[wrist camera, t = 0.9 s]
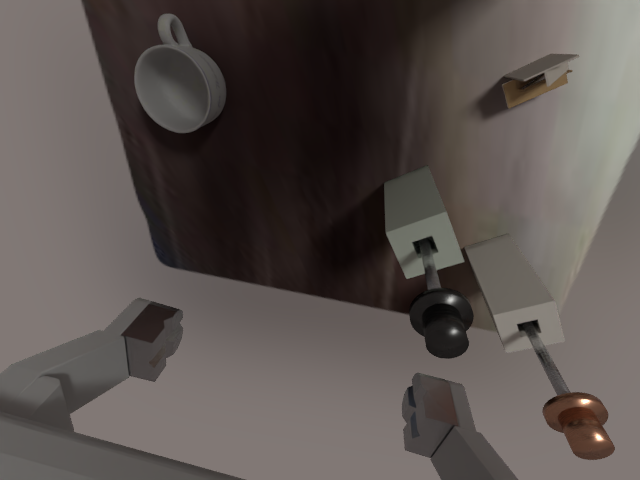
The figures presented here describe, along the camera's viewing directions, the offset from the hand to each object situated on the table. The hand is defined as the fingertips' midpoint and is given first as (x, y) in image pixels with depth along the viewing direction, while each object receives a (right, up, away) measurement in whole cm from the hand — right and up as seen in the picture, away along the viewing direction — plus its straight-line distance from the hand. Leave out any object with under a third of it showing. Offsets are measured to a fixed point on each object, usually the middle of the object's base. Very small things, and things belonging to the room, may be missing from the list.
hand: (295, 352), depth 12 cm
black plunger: (+14, +5, +31) cm, 34 cm away
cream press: (+30, +1, +46) cm, 55 cm away
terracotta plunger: (+28, -6, +34) cm, 44 cm away
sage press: (+16, +11, +43) cm, 47 cm away
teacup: (-17, +29, +39) cm, 51 cm away
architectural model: (+28, +26, +33) cm, 50 cm away
